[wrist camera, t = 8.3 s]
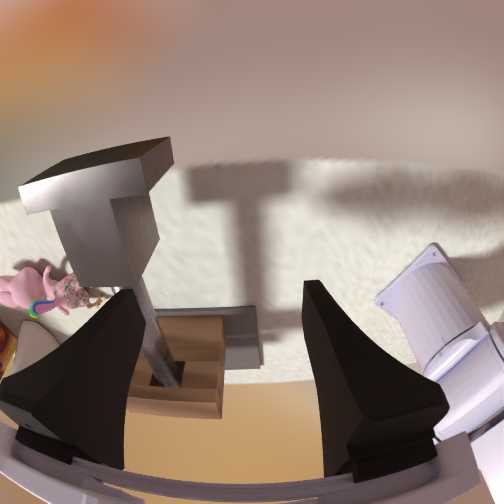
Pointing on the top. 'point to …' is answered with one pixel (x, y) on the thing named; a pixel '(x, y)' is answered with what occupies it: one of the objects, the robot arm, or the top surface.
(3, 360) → the candy box
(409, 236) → the top surface
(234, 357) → the mat
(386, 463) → the robot arm
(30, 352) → the flask
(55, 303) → the pink toy animal
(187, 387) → the bracket
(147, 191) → the shaft
